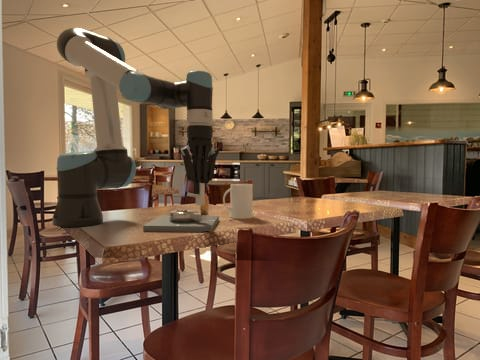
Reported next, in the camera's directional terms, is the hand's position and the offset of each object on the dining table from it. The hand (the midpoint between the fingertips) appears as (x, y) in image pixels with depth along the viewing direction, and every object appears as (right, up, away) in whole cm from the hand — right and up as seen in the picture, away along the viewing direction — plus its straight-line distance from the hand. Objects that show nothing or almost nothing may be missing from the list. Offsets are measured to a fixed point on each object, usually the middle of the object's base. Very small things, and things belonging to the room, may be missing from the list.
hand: (200, 204), depth 109 cm
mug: (+11, -6, +24) cm, 27 cm away
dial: (-4, -5, +6) cm, 8 cm away
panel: (-6, -7, +8) cm, 12 cm away
